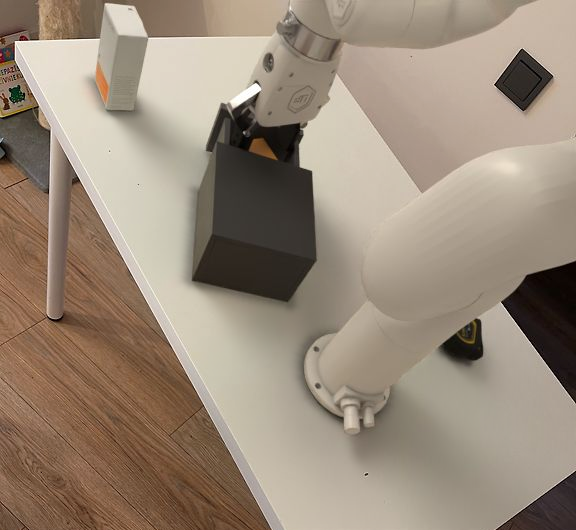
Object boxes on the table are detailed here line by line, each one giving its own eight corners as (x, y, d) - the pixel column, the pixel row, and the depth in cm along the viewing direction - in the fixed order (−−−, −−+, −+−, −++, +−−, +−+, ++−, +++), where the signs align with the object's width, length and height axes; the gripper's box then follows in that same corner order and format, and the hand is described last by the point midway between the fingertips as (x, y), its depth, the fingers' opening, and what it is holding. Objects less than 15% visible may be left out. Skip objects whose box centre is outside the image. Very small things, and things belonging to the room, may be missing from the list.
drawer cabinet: (197, 192, 85) (216, 140, 77) (285, 217, 89) (312, 170, 82) (191, 280, 77) (211, 233, 70) (287, 302, 82) (317, 260, 74)
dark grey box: (207, 122, 91) (222, 79, 84) (282, 147, 95) (302, 107, 88) (201, 219, 82) (217, 178, 75) (285, 241, 86) (307, 204, 80)
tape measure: (472, 367, 91) (488, 355, 88) (434, 353, 89) (449, 340, 86) (470, 331, 94) (486, 318, 91) (434, 316, 92) (448, 303, 89)
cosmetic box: (92, 80, 86) (103, 1, 77) (121, 81, 89) (135, 4, 79) (105, 111, 85) (118, 34, 75) (134, 112, 87) (150, 37, 77)
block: (267, 184, 88) (279, 161, 84) (242, 190, 86) (253, 166, 82) (252, 161, 89) (262, 137, 85) (226, 165, 86) (236, 141, 83)
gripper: (270, 58, 63) (221, 178, 77) (382, 51, 72) (320, 159, 87) (235, 8, 64) (193, 135, 79) (349, 8, 74) (293, 121, 88)
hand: (260, 147), depth 83 cm, fingers open, 7 cm apart
